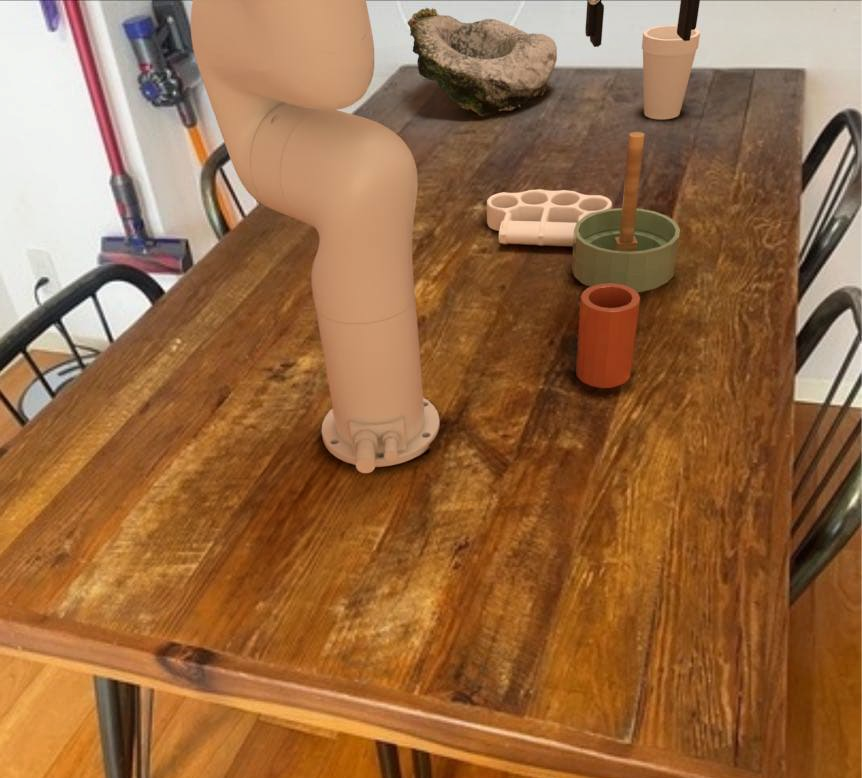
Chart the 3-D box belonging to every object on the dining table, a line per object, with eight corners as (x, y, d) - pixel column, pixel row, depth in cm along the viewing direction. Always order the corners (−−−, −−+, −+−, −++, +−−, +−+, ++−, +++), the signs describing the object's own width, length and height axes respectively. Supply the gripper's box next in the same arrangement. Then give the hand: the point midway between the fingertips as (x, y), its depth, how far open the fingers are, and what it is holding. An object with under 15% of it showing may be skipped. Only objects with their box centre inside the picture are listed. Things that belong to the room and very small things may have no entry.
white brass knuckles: (476, 249, 121) (493, 205, 131) (605, 254, 117) (613, 209, 128) (475, 226, 119) (493, 183, 129) (607, 231, 115) (615, 187, 125)
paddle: (634, 271, 112) (649, 136, 100) (614, 273, 112) (627, 138, 101) (631, 264, 114) (646, 130, 102) (611, 266, 114) (624, 132, 102)
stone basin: (386, 42, 173) (411, -40, 163) (516, 90, 184) (548, 16, 174) (403, 105, 154) (433, 18, 144) (546, 154, 165) (584, 76, 155)
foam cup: (625, 111, 157) (632, 31, 148) (667, 101, 160) (676, 22, 151) (656, 126, 151) (665, 43, 142) (699, 115, 154) (711, 34, 145)
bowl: (684, 293, 109) (691, 248, 104) (580, 301, 109) (583, 257, 105) (660, 247, 118) (666, 204, 114) (565, 254, 118) (567, 211, 114)
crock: (635, 391, 94) (645, 309, 87) (580, 395, 94) (586, 313, 87) (624, 361, 98) (633, 281, 91) (572, 365, 98) (577, 285, 91)
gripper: (576, -151, 79) (565, 55, 91) (763, -163, 79) (727, 44, 91) (564, -158, 85) (555, 37, 96) (738, -170, 85) (708, 27, 96)
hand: (639, 40), depth 94 cm, fingers open, 9 cm apart
